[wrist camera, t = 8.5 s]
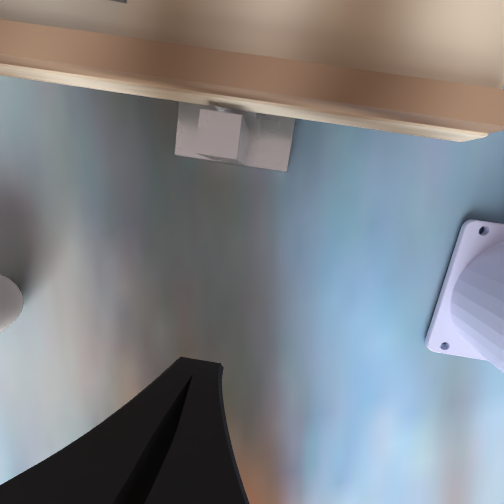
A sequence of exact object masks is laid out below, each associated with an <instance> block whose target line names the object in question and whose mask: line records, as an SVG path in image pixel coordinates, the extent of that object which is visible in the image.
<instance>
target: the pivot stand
mask: <svg viewBox="0 0 504 504" xmlns="http://www.w3.org/2000/svg"><path fill="white" fill-rule="evenodd" d="M295 119H296V118H292V117H285V116H278V115H271V114H264V113H257V112H250V111H243V110H236V109H230V108H223V107H216V106H209V105H202V104H195V103H188V102H181V101H179V110H178V122H177V134H176V146H175V155H178V156H183V157H190V158H196V159H203V160H210V161H216V162H223V163H229V164H236V165H243V166H249V167H256V168H263V169H269V170H276V171H282V172H287V166H288V160H289V155H290V149H291V143H292V137H293V131H294V125H295Z"/></svg>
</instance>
